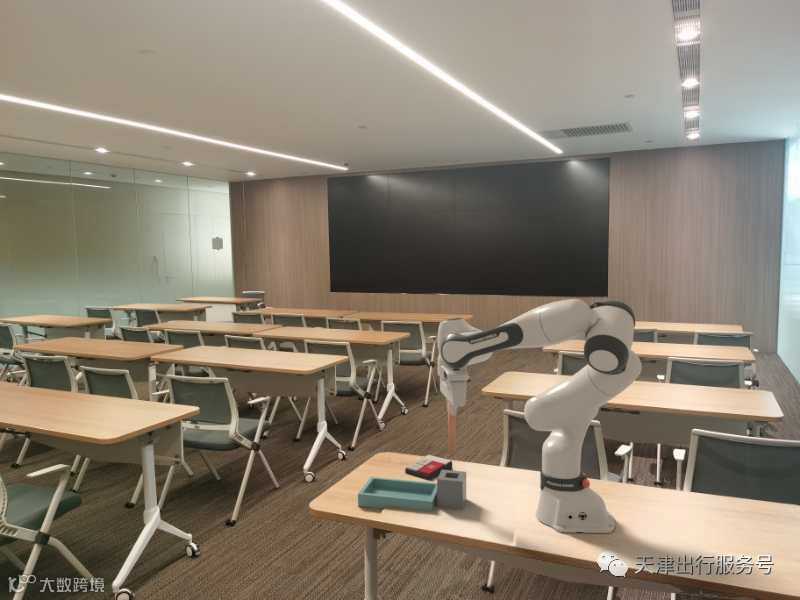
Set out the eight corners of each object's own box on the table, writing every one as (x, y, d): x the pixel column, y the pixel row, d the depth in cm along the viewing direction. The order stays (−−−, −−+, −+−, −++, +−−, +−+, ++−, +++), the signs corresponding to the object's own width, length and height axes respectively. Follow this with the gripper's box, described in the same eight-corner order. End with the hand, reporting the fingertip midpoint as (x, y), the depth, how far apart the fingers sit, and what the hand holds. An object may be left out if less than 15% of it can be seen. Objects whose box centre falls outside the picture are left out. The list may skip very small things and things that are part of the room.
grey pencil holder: (466, 501, 178) (466, 471, 177) (462, 513, 170) (462, 481, 169) (441, 499, 180) (441, 469, 179) (437, 510, 172) (437, 479, 171)
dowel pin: (456, 450, 174) (456, 400, 173) (455, 452, 172) (455, 402, 171) (448, 449, 175) (448, 399, 173) (447, 452, 172) (447, 401, 171)
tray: (440, 495, 183) (440, 483, 182) (432, 514, 169) (432, 501, 169) (371, 488, 189) (371, 476, 188) (358, 506, 175) (357, 493, 175)
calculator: (404, 466, 199) (428, 452, 211) (404, 478, 200) (428, 463, 211) (429, 473, 192) (452, 459, 204) (429, 485, 193) (452, 470, 204)
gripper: (435, 363, 181) (435, 404, 182) (449, 376, 161) (449, 423, 162) (453, 363, 182) (454, 404, 183) (470, 376, 162) (470, 422, 163)
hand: (451, 413), depth 172 cm, fingers closed on dowel pin, 2 cm apart
